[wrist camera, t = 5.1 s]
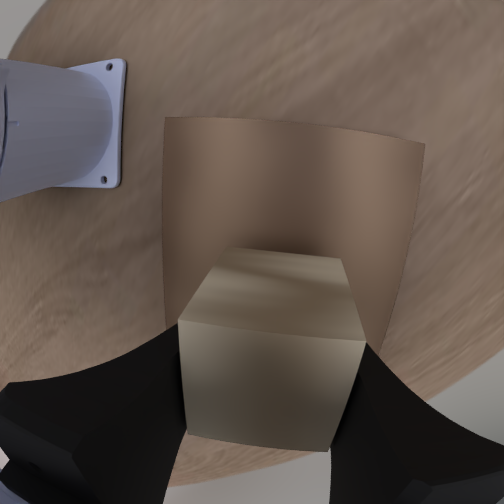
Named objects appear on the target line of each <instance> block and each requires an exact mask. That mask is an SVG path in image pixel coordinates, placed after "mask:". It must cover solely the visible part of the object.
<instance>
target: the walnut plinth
mask: <svg viewBox="0 0 504 504" xmlns="http://www.w3.org/2000/svg"><path fill="white" fill-rule="evenodd" d="M424 151H425V144H423V143H419V142H414V141H410V140H405V139H400V138H395V137H390V136H385V135H379V134H374V133H368V132H362V131H356V130H349V129H343V128H336V127H328V126H320V125H312V124H303V123H294V122H283V121H271V120H257V119H240V118H214V117H165V127H164V148H163V180H162V244H163V277H164V298H165V315H166V330H167V329H169V328H170V327H172V326H174V325H175V324H176V323H178V318H179V317H180V315H181V314H182V312H183V311H184V309H185V308H186V306H187V305H188V303H189V302H190V300H191V299H192V297H193V295H194V294H195V292H196V291H197V289H198V288H199V286H200V285H201V283H202V282H203V280H204V279H205V277H206V276H207V274H208V273H209V272H210V270H211V269H212V267H213V266H214V264H215V263H216V261H217V260H218V258H219V257H220V255H221V254H222V252H223V251H224V249H225V248H226V247H236V248H245V249H255V250H264V251H274V252H283V253H293V254H302V255H311V256H321V257H330V258H339V259H341V261H342V264H343V267H344V270H345V273H346V276H347V279H348V282H349V285H350V289H351V292H352V295H353V298H354V301H355V304H356V308H357V311H358V314H359V318H360V321H361V324H362V328H363V331H364V335H365V338H366V342H367V343H368V345H369V346H370V347H371V348H372V349H373V351H374V352H375V353H376V354H377V355H379V352H380V349H381V346H382V343H383V340H384V337H385V334H386V330H387V327H388V324H389V321H390V317H391V314H392V311H393V307H394V304H395V300H396V296H397V293H398V289H399V285H400V281H401V277H402V273H403V269H404V265H405V261H406V257H407V252H408V248H409V243H410V238H411V234H412V229H413V223H414V218H415V213H416V207H417V201H418V195H419V189H420V182H421V175H422V168H423V160H424Z"/></svg>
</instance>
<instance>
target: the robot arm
mask: <svg viewBox="0 0 504 504" xmlns="http://www.w3.org/2000/svg"><path fill="white" fill-rule="evenodd" d="M112 64H113V68H112V69H111V70H110V71H109V67H110V66H111V65H112ZM125 72H126V62H125V61H124V60H123V59H119V58H117V59H111V60H105V61H99V62H94V63H89V64H84V65H79V66H75V67H70V68H66V69H64V68H59V67H54V66H48V65H42V64H36V63H29V62H22V61H15V60H7V59H0V202H3V201H6V200H9V199H12V198H16V197H19V196H22V195H25V194H28V193H32V192H35V191H38V190H42V189H45V188H48V187H90V188H114V187H117V186H118V185H119V183H120V159H121V127H122V109H123V95H124V83H125ZM105 176H106V177H107V183H105V181H104V177H105ZM186 429H187V423H186V415H185V405H184V395H183V385H182V373H181V361H180V347H179V332H178V323H176V324H175V325H174V326H172V327H170V328H169V329H167V330H166V331H164V332H163V333H161V334H160V335H158V336H157V337H155V338H153V339H152V340H150V341H148V342H146V343H145V344H143V345H141V346H139V347H138V348H136V349H134V350H132V351H130V352H128V353H126V354H124V355H122V356H120V357H117V358H115V359H113V360H110V361H108V362H105V363H103V364H100V365H97V366H94V367H91V368H88V369H85V370H82V371H79V372H75V373H71V374H67V375H63V376H58V377H53V378H48V379H42V380H33V381H23V382H10V383H8V384H7V386H6V387H5V388H4V389H3V390H2V391H1V392H0V447H1V449H2V450H3V451H4V453H5V454H6V455H7V457H8V458H9V459H10V460H9V461H8V463H7V464H6V465H5V467H4V468H3V469H0V504H163V501H164V497H165V493H166V490H167V486H168V483H169V479H170V476H171V472H172V469H173V466H174V463H175V459H176V456H177V453H178V450H179V447H180V444H181V441H182V439H183V436H184V434H185V432H186ZM330 449H331V487H330V501H329V504H496V503H497V502H498V501H499V500H500V499H502V498H503V497H504V445H501V444H499V443H496V442H494V441H491V440H489V439H486V438H484V437H481V436H479V435H477V434H475V433H473V432H471V431H469V430H467V429H465V428H464V427H462V426H460V425H458V424H457V423H455V422H453V421H452V420H450V419H448V418H447V417H445V416H444V415H442V414H441V413H439V412H438V411H437V410H435V409H434V408H432V407H431V406H429V405H428V404H427V403H426V402H424V401H423V400H422V399H421V398H420V397H418V396H417V395H416V394H415V393H414V392H412V391H411V390H410V389H409V388H408V387H407V386H406V385H405V384H404V383H403V382H402V381H401V380H400V379H399V378H398V377H397V376H396V375H395V374H394V373H393V372H392V371H391V370H390V369H389V368H388V367H387V366H386V365H385V363H384V362H383V361H382V360H381V359H380V358H379V357H378V355H377V354H376V353H375V352H374V351H373V349H372V348H371V347H370V346H369V345H368V343H367V342H366V344H365V348H364V351H363V354H362V358H361V361H360V364H359V367H358V371H357V374H356V377H355V380H354V383H353V386H352V389H351V392H350V395H349V398H348V400H347V403H346V406H345V409H344V412H343V414H342V417H341V420H340V422H339V425H338V428H337V430H336V433H335V435H334V438H333V440H332V443H331V445H330Z"/></svg>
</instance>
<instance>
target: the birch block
mask: <svg viewBox="0 0 504 504" xmlns="http://www.w3.org/2000/svg"><path fill="white" fill-rule="evenodd" d="M178 332H179V347H180V361H181V373H182V385H183V395H184V405H185V415H186V423H187V432H188V434H190V435H194V436H199V437H204V438H209V439H215V440H220V441H226V442H232V443H238V444H245V445H252V446H259V447H268V448H277V449H287V450H299V451H315V452H328V450H329V448H330V445H331V443H332V440H333V438H334V435H335V433H336V430H337V428H338V425H339V422H340V420H341V417H342V414H343V412H344V409H345V406H346V403H347V400H348V398H349V395H350V392H351V389H352V386H353V383H354V380H355V377H356V374H357V371H358V367H359V364H360V361H361V358H362V354H363V351H364V348H365V344H366V338H365V335H364V331H363V328H362V324H361V321H360V318H359V314H358V311H357V308H356V304H355V301H354V298H353V295H352V292H351V289H350V285H349V282H348V279H347V276H346V273H345V270H344V267H343V264H342V261H341V259H339V258H330V257H321V256H311V255H302V254H293V253H283V252H274V251H264V250H255V249H245V248H236V247H226V248H225V249H224V251H223V252H222V254H221V255H220V257H219V258H218V260H217V261H216V263H215V264H214V266H213V267H212V269H211V270H210V272H209V273H208V274H207V276H206V277H205V279H204V280H203V282H202V283H201V285H200V286H199V288H198V289H197V291H196V292H195V294H194V295H193V297H192V299H191V300H190V302H189V303H188V305H187V306H186V308H185V309H184V311H183V312H182V314H181V315H180V317H179V318H178Z"/></svg>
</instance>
